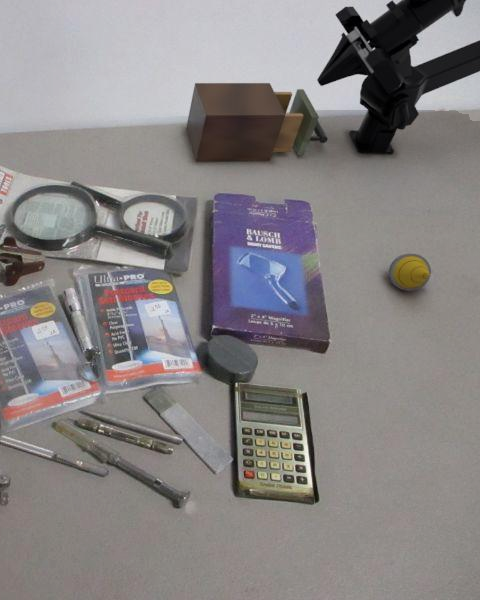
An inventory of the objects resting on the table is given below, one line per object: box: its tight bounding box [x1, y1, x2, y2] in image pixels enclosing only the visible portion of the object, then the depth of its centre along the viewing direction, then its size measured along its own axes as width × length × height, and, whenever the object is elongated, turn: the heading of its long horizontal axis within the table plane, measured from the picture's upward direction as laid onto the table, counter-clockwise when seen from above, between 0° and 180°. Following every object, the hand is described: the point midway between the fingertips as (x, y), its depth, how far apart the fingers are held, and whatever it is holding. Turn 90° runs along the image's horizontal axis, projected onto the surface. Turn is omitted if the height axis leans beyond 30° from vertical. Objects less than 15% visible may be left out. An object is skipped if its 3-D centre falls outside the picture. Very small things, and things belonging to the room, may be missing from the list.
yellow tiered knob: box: [388, 253, 432, 292], centre depth 84 cm, size 5×5×10 cm
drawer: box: [273, 88, 329, 156], centre depth 105 cm, size 16×9×8 cm, turn 93°
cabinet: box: [185, 82, 285, 163], centre depth 104 cm, size 13×10×9 cm
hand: (318, 83), depth 99 cm, fingers closed
